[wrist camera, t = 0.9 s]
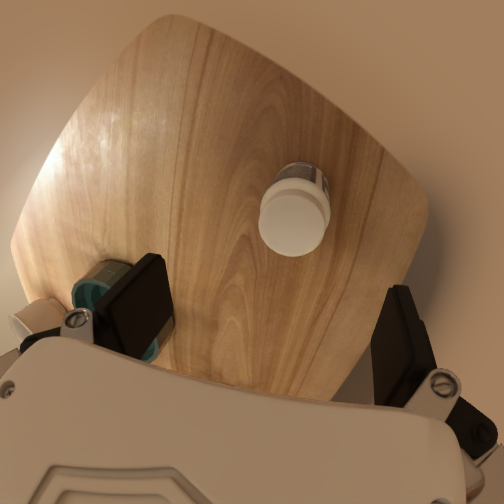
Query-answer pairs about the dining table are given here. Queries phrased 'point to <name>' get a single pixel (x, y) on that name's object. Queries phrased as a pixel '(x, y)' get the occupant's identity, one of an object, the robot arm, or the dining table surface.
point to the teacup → (37, 318)
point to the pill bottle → (295, 210)
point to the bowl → (99, 284)
